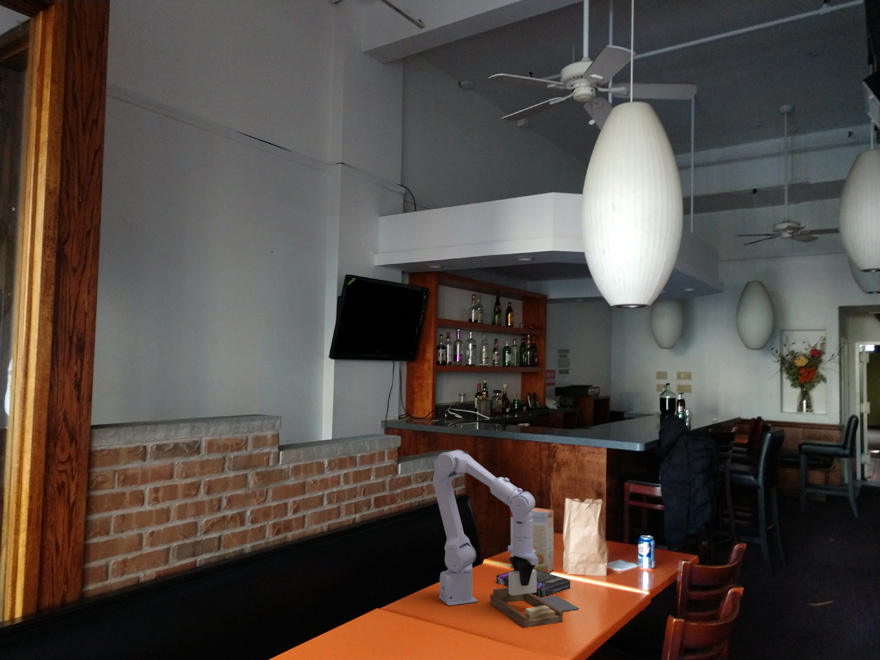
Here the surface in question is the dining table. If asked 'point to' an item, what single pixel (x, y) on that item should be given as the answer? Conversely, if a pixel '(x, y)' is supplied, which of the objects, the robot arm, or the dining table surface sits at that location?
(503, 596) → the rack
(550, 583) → the box
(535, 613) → the offcuts
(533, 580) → the light grey block
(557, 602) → the mat
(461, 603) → the robot arm
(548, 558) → the cracker box
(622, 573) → the dining table surface
